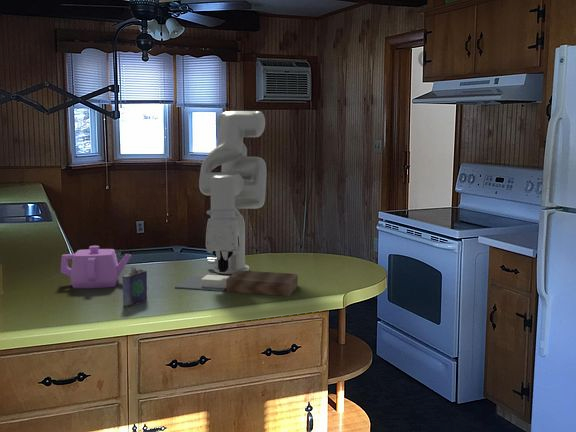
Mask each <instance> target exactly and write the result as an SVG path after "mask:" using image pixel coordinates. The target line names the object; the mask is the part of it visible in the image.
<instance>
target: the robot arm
mask: <svg viewBox="0 0 576 432" xmlns="http://www.w3.org/2000/svg"><path fill="white" fill-rule="evenodd" d="M216 120H217V121H216V123H217V124H216V125H217V126H216V127H217V132H218V138H217V146H216V147H215V148H214V149H213V150H211V151H210V152H209V153H208V155H207V156H206V157H205V158H204V159H203V161H202V163H201V166H200V172H199V180H198V187H199V190H200V192H201V193H202V194H203V195H205V196H210V208H209V210H206V215H209V216H210V218H207V224H206V233H205V248H206V253H209V254H212V255H213V256H214V257H207V258H206V263H207V264H208V265H214V267H213V271H214V272H215V273H217V274H221V275H232V274H234V273H235V272H236V271H238V270H241V271H250V266H249V265H248V264H246V222H245V219H244V216H243V214H241V213H240V211H239V209H243V210H244V209H248V210H249V209H251V210H252V209H253V210H255V209H260V208H262V207H263V206H264V204H265V202H266V196H267V195H266V193H267V192H266V191H267V189H266V188H267V165H266V161H265V160H264V159H263V158H262V157H259V156H248V155H247V154H248V148H247V146H246V144H245V143H244V138H259V137H261V135H262V134H263V133H264V131H265V128H266V118H265V115H264V113H263V112H262V111H260V110H259V111H258V110H229V111H224V112H221V113H220V114H218V117H217V119H216ZM219 166H221V171H218V172H217V171H213V170H214V169H216V168H217V167H219Z"/></svg>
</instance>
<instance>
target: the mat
mask: <svg viewBox="0 0 576 432" xmlns="http://www.w3.org/2000/svg"><path fill="white" fill-rule="evenodd" d="M203 277H204V276H203ZM203 277H202V276H189V277H188V278H186V279H185V280H183V281H182V282H180V283H178V284H177V285H176V286H175V287H174V289H182V290H185V289H186V290H195V291H196V290H198V291H211V292H225V291H227V289H226V288H216V287H201V279H202V278H203Z"/></svg>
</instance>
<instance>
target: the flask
mask: <svg viewBox="0 0 576 432" xmlns="http://www.w3.org/2000/svg"><path fill="white" fill-rule="evenodd" d="M130 269H131V270H130V272H129V273H127V274H124V275H122V305H123V307H124V308H125V307H126V308H127V307H132V305H133V306H135V305H137V303H138V304H139V303H143V302H146V301H147V300H148V285H147V283H148V281H147V280H148V279H147V275H148V274H147V273H148V271H147V270H145V269H140V268H139V269H137V267H135V266H134V265H133V266H130Z"/></svg>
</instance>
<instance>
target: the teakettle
mask: <svg viewBox="0 0 576 432" xmlns="http://www.w3.org/2000/svg"><path fill="white" fill-rule="evenodd" d="M131 257H132V254H129V253H125V254H124V256H123V257H122V259H121V260H120V261H119V263H118V257H117V255H116V250H115V249H114V248H100V246H99V245H90V246H89V248H88V249H78V250H77V251H76V252H75V253H67V254H66V253H65V254H62V255H61V258H60V259H61V260H60V272H61V273H62V274H64V275H65V276H68V277H70V283H71V286H72V288H73V289H99V288H100V289H102V288H114V287H115V286H116V285H117V283H118V280H119V276H120V275H121V273H122V272H123V269H124V268H125V266H126V265H127V263H128V262H129V260H130V258H131ZM69 260H72V262H71V267H69Z"/></svg>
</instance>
